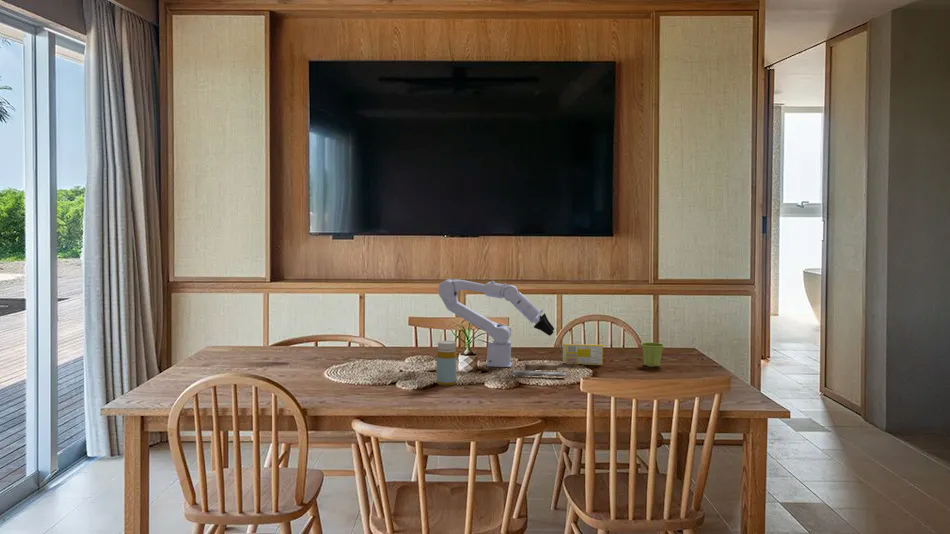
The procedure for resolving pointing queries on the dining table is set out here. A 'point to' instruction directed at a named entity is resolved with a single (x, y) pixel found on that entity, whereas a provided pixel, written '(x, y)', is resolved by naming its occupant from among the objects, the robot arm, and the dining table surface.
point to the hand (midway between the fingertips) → (552, 332)
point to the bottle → (446, 363)
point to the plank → (540, 366)
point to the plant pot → (652, 353)
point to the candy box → (583, 354)
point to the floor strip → (537, 373)
